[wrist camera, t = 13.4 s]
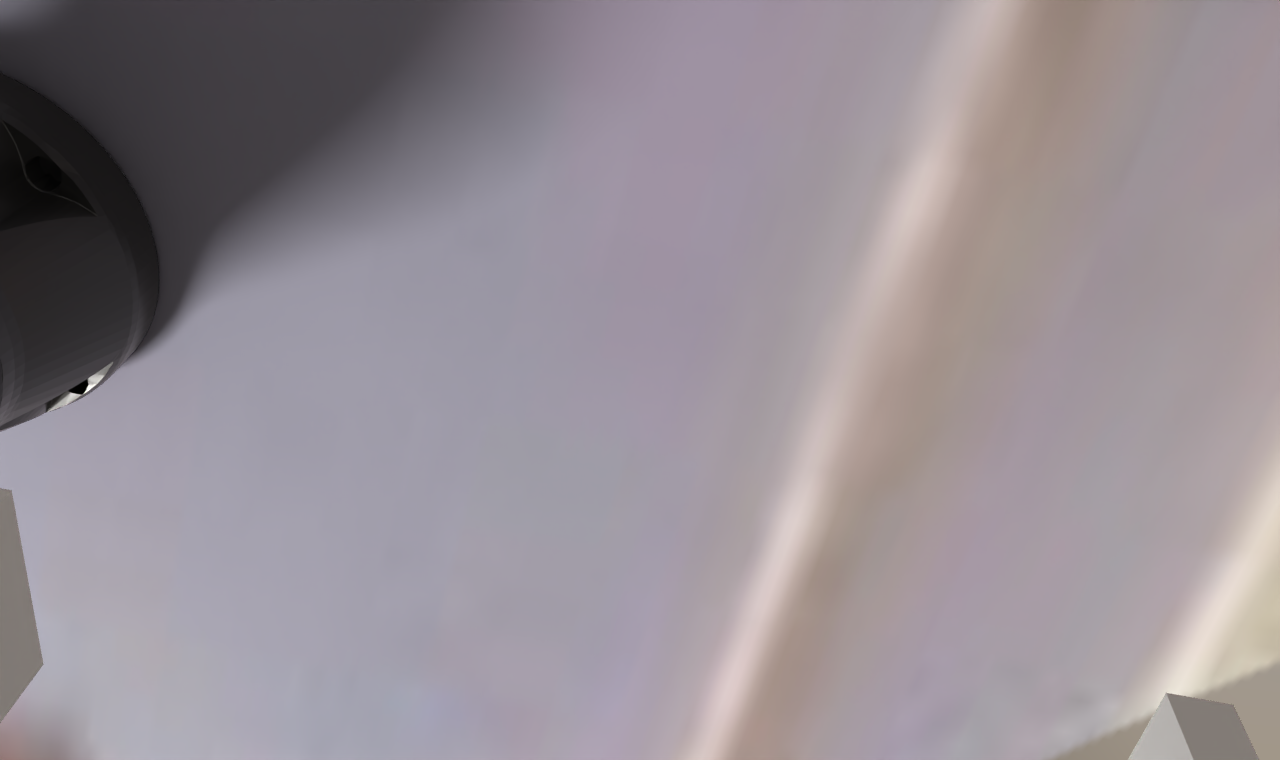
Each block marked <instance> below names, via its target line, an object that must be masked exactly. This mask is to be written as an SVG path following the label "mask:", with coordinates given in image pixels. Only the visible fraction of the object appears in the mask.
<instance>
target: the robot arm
mask: <svg viewBox="0 0 1280 760" xmlns="http://www.w3.org/2000/svg"><path fill="white" fill-rule="evenodd" d="M158 291H159V268H158V260H157V253H156V249H155V244H154V240H153V236H152V233H151V230H150V227H149V224H148V221H147V219H146V216H145V214H144V212H143V209H142V207H141V205H140V203H139V201H138V199H137V197H136V195H135V193H134V191H133V190H132V188H131V186H130V185H129V183H128V181H127V180H126V178H125V177H124V175H123V174H122V172H121V171H120V169H119V168H118V167H117V165H116V164H115V163H114V161H113V160H112V159H111V158H110V156H109V155H108V154H107V153H106V152H105V150H104V149H103V148H102V147H101V146H100V145H99V143H98V142H97V141H96V140H95V139H94V138H93V137H92V136H91V135H90V134H89V133H88V132H87V131H86V130H85V129H84V128H82V127H81V126H80V125H79V124H78V123H77V122H76V121H75V120H74V119H72V118H71V117H70V116H69V115H68V114H66V113H65V112H64V111H63V110H61V109H60V108H59V107H57V106H56V105H54V104H53V103H52V102H50V101H49V100H47V99H46V98H44V97H43V96H41V95H40V94H38V93H37V92H35V91H33V90H31V89H30V88H28V87H26V86H24V85H23V84H21V83H19V82H17V81H15V80H13V79H11V78H9V77H6V76H4V75H2V74H0V432H1V431H4V430H6V429H9V428H11V427H14V426H16V425H19V424H21V423H24V422H26V421H29V420H31V419H34V418H36V417H38V416H40V415H42V414H44V413H46V412H49V411H53V410H56V409H58V408H61V407H63V406H66V405H68V404H71V403H73V402H75V401H77V400H79V399H81V398H83V397H84V396H86V395H88V394H89V393H91V392H92V391H94V390H95V389H96V388H98V387H99V386H100V385H102V384H103V383H104V382H105V381H106V380H107V379H108V378H109V377H110V376H111V375H112V374H113V373H114V372H115V371H116V370H117V369H118V368H119V367H120V366H121V365H122V364H123V363H124V362H125V361H126V360H127V359H128V358H129V357H130V355H131V354H132V353H133V352H134V351H135V350H136V349H137V347H138V346H139V344H140V343H141V342H142V340H143V338H144V337H145V335H146V333H147V331H148V329H149V327H150V325H151V322H152V319H153V316H154V313H155V309H156V305H157V299H158ZM42 666H43V659H42V654H41V649H40V643H39V638H38V632H37V627H36V621H35V616H34V610H33V605H32V600H31V594H30V589H29V583H28V578H27V572H26V567H25V561H24V556H23V550H22V545H21V540H20V534H19V529H18V523H17V518H16V512H15V507H14V501H13V496H12V490H6V489H1V488H0V723H1V721H2V720H3V718H4V717H5V716H6V714H7V713H8V712H9V710H10V709H11V708H12V706H13V705H14V704H15V702H16V701H17V699H18V698H19V697H20V695H21V694H22V693H23V691H24V690H25V689H26V687H27V686H28V685H29V683H30V682H31V680H32V679H33V678H34V676H35V675H36V674H37V672H38V671H39V670H40V668H41V667H42ZM1128 760H1259V758H1258V756H1257V754H1256V752H1255V750H1254V748H1253V746H1252V743H1251V742H1250V740H1249V737H1248V735H1247V733H1246V731H1245V729H1244V726H1243V724H1242V722H1241V720H1240V718H1239V716H1238V714H1237V712H1236V710H1235V707H1234V705H1232V704H1225V703H1220V702H1214V701H1209V700H1203V699H1197V698H1192V697H1186V696H1180V695H1175V694H1169V693H1166V694H1165V696H1164V698H1163V699H1162V701H1161V703H1160V705H1159V706H1158V708H1157V710H1156V712H1155V713H1154V715H1153V717H1152V719H1151V720H1150V722H1149V724H1148V726H1147V728H1146V729H1145V731H1144V733H1143V735H1142V736H1141V738H1140V740H1139V742H1138V743H1137V745H1136V747H1135V748H1134V750H1133V752H1132V754H1131V755H1130V757H1129V759H1128Z"/></svg>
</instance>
